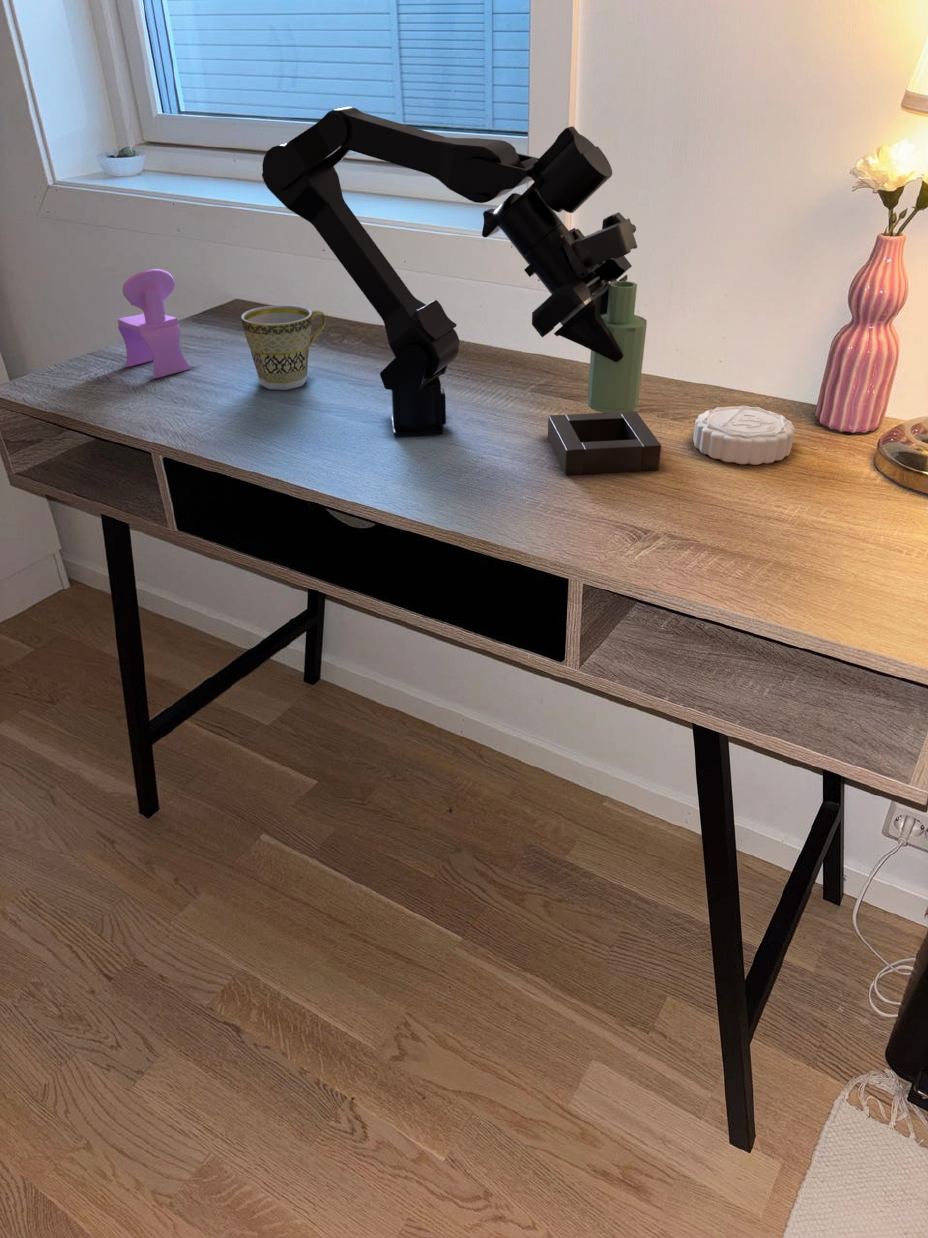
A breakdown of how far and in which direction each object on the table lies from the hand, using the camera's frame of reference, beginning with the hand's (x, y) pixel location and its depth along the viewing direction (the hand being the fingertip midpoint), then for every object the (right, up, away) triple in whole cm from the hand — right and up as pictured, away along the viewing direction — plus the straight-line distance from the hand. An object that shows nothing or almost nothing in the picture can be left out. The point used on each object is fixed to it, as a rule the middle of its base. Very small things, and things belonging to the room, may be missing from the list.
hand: (628, 351), depth 112 cm
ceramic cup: (-44, +5, +33) cm, 56 cm away
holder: (-2, -10, +9) cm, 14 cm away
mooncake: (+16, -9, +11) cm, 21 cm away
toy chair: (-66, +8, +39) cm, 77 cm away
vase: (-1, -5, +4) cm, 7 cm away
